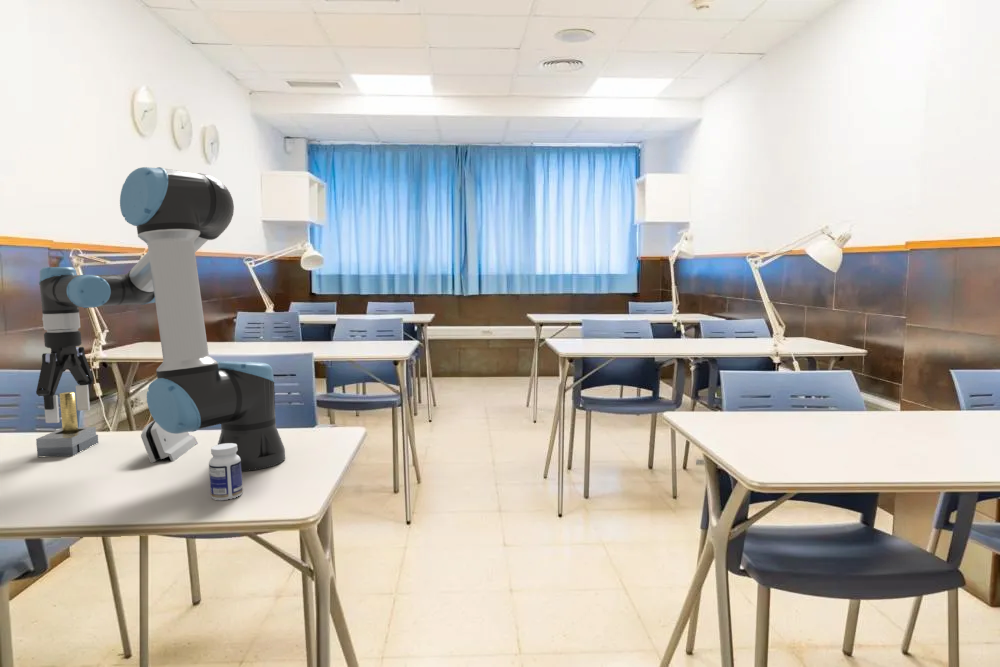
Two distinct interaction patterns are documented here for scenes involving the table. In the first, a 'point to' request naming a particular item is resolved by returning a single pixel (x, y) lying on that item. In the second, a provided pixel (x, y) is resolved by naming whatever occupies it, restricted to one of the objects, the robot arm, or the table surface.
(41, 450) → the grey block with pocket
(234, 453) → the pill bottle
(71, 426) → the pin
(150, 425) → the white piece
